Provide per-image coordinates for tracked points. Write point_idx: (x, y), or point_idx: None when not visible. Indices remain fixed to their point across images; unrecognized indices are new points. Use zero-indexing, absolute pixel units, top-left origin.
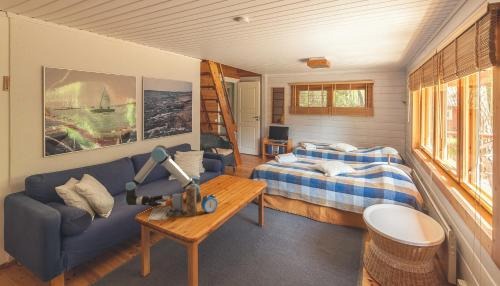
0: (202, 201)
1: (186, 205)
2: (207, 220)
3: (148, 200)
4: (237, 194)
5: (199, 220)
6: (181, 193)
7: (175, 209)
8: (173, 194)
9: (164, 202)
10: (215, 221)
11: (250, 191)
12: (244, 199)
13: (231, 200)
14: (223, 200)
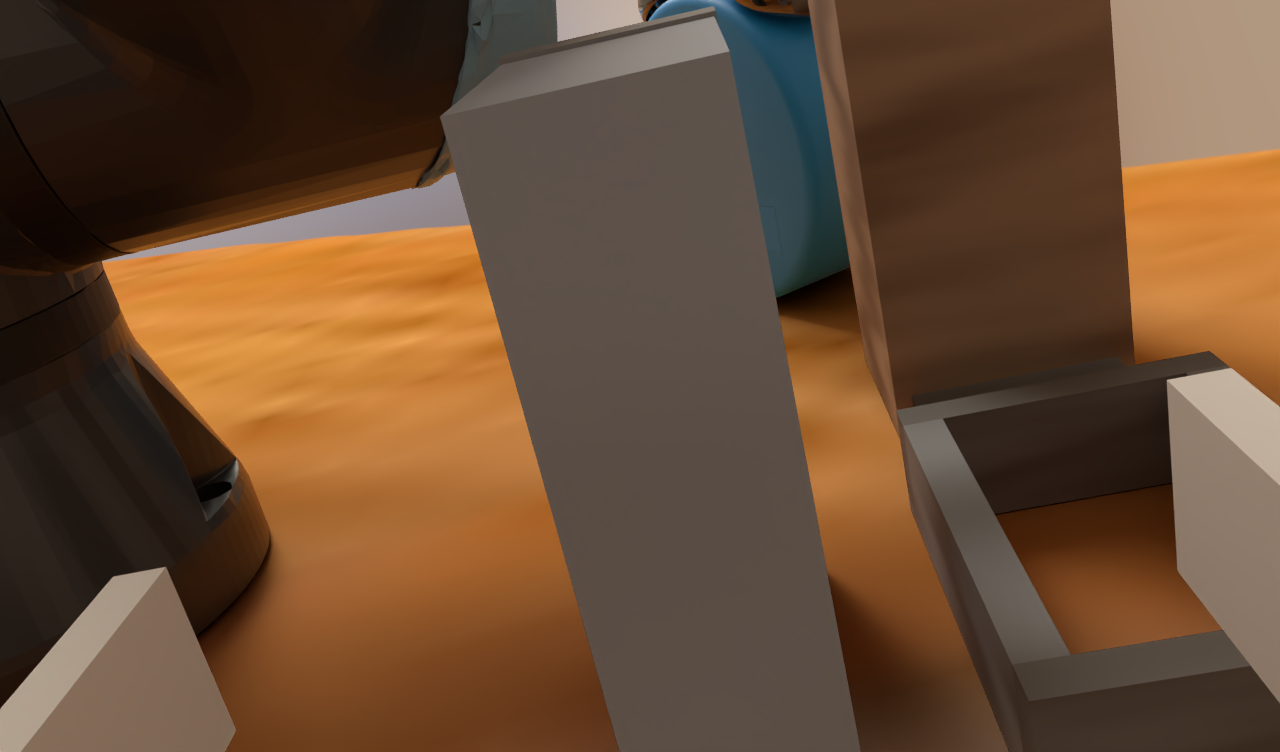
0: (812, 64)
1: (1115, 90)
2: (1166, 203)
3: None
4: (142, 308)
5: (1232, 241)
6: (509, 57)
7: (1002, 535)
8: (593, 79)
9: (1253, 388)
10: (1150, 165)
11: (110, 276)
12: (362, 239)
13: (351, 283)
14: (315, 323)
